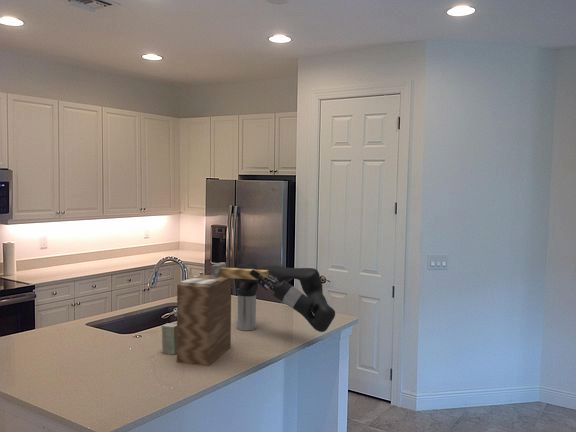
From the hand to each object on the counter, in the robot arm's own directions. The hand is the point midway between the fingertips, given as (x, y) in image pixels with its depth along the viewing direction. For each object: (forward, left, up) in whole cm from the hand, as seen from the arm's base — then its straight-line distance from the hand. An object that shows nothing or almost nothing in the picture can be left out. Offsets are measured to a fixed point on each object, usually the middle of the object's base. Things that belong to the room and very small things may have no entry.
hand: (253, 270), depth 206 cm
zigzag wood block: (-19, -14, -39) cm, 46 cm away
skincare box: (-27, -27, -39) cm, 55 cm away
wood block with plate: (-3, -4, -3) cm, 6 cm away
